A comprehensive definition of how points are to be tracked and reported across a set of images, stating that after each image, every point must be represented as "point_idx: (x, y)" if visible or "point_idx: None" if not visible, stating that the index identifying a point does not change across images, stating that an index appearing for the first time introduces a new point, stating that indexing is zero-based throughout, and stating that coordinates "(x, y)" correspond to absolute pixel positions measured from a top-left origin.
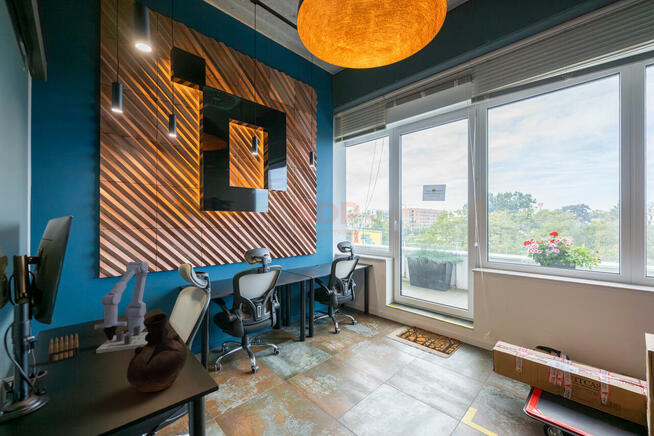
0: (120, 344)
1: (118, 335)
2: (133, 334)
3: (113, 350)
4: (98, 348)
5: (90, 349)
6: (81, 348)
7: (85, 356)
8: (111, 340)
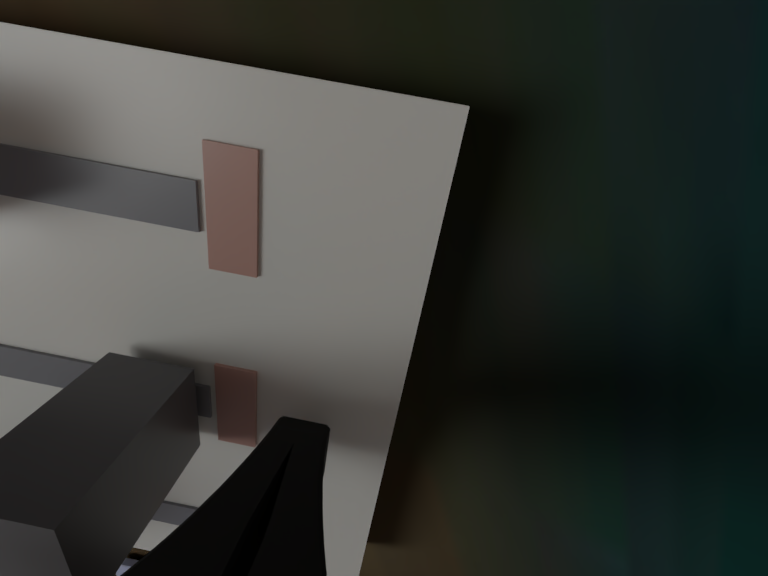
0: (23, 171)
1: (63, 455)
2: None
3: (138, 46)
4: (434, 166)
5: (586, 361)
6: (711, 459)
7: (652, 29)
8: None
